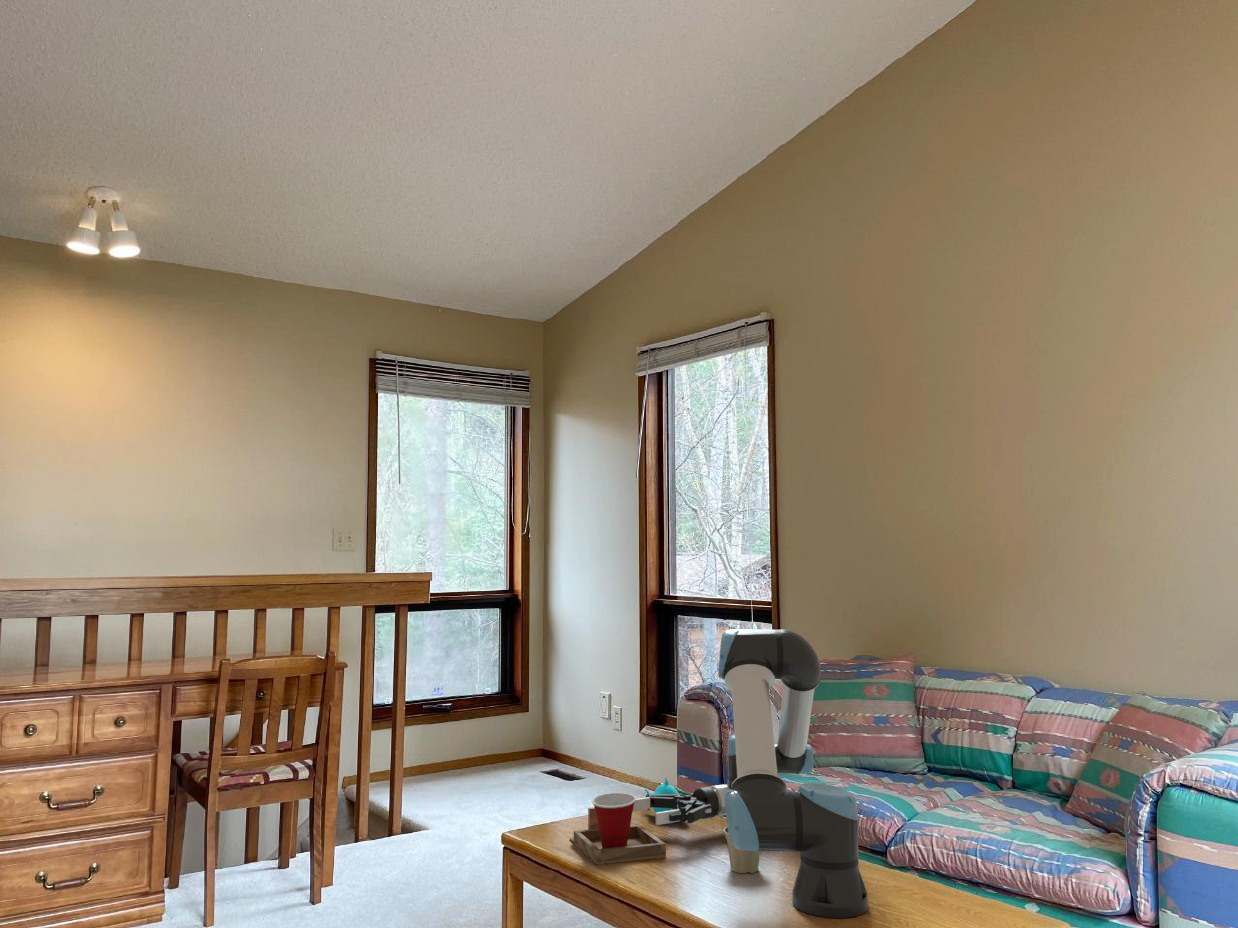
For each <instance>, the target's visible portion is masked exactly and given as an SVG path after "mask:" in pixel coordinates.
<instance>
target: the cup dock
mask: <svg viewBox="0 0 1238 928" xmlns="http://www.w3.org/2000/svg"><path fill="white" fill-rule="evenodd" d="M587 813H588V815H587V816H588V817H587V829H582V830H573V837H569V841H570V840H571V841H572V842H573V843H574V844H573V843H572V842H571V841H570V842H571V843H572V844H573V845H575V846H576V847H577V849H578V850H580V852H582V853H583V854H584V855H585V856H586V855H587V856H588V857H589V858H590V860H591V861H592V862H593V863H594V862H595V863H594V864H595V865H596V864H598V865H606V864H605V863H607V864H615V863H622V862H623V863H624V862H632V861H634V862H635V861H641V860H649V859H650V860H651V859H659V858H661V859H662V858H666V857H667V844H666V842H664V841H662V840H661V839H659V837H657V836H656V835H654V834H653V833H651V832H650V831H649V830H647V829H646V828H644V827H643V826H642V825H640V824H634V825H630V831H629V835H628V842H627V846H626V847H616V848H606V849H603V848H602V844H601V837H600V833H599V827H598V820H597V814H596V811H595V807H594V806H593V807H588V808H587ZM587 856H586V857H587ZM588 857H587V858H588ZM589 858H588V859H589Z"/></svg>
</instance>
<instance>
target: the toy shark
mask: <svg viewBox="0 0 1238 928" xmlns="http://www.w3.org/2000/svg"><path fill="white" fill-rule="evenodd" d="M644 790H645V793H646V795H647V794H649V795H658V794H680V793H679V792H678V790H677V789H676V788H675V787H674V786H672V785H670V784H669V782H668V778H667V777H665V779H664V783H663V784H659V785H658V786H657V787H656V789H655V790H654V791H653V792H652V794H650V792H649V790H648V789H647V788H645V789H644ZM677 807H678V805H677ZM651 808H652V810H653V811H654V812H655V814H656V813H657V812H664V811H670V810H674V809H673V808H654V807H651ZM678 808H679V807H678ZM680 813H681V811H680Z"/></svg>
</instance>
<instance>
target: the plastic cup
mask: <svg viewBox="0 0 1238 928" xmlns="http://www.w3.org/2000/svg"><path fill="white" fill-rule="evenodd" d="M636 799H637V797H636V796H635V795H633V794H631V793H626V792H608V793H603V794H599V795H597V796H595V797H593V798H592V799H591V803H592V804H593V807H595V811H596V814H597V820H598V827H599V833H600V837H601V844H602V848H603V849H606V848H616V847H626V846H627V842H628V835H629V831H630V826H631V824H632V823H631V822H632V817H633V812H634V811H633V807H634V803H635V801H636Z"/></svg>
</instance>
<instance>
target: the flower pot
mask: <svg viewBox="0 0 1238 928" xmlns="http://www.w3.org/2000/svg"><path fill="white" fill-rule="evenodd" d="M722 831H723V834H725V839H726V841H727V842H726V843H727V849H728V858H729V864H730V869H731V870H732V872H735V873H739V874H747V873H750V874H753V873H756V872H757V871H758V870H759V864H760V856H761V851H758V852H753V851H746V850H738V849H736V848H735V847H734V846H733V844H732V842H731V839H730V836H729V832H728V826H726V827H724V828H723V829H722Z"/></svg>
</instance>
